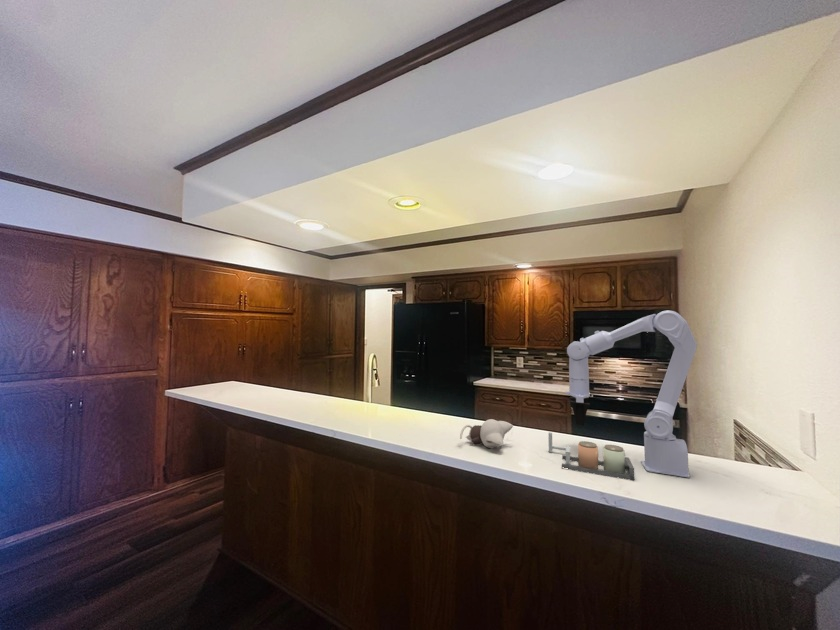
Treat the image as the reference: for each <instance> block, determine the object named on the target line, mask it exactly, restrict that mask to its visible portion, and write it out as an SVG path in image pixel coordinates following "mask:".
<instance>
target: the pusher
mask: <svg viewBox="0 0 840 630" xmlns="http://www.w3.org/2000/svg"><path fill="white" fill-rule="evenodd" d="M553 450H559V451H565V455H566V460H565V464H569V465H571V461H570V456H571V447H570V446H569V445H565V447H564V446H555V445H553V432H552V431H548V453H553Z"/></svg>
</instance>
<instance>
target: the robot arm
mask: <svg viewBox="0 0 840 630" xmlns="http://www.w3.org/2000/svg"><path fill="white" fill-rule="evenodd" d="M656 330H657V331H658V332H660V333H661V334H662V335H665V336H666V337H667V338H668V340H669V342H670V343H671V344H672V346H673V347H674V349H673V351H672V355H671V358H670V361H669V363H668V367H667V369H666V373H665V375H664V378H663V382H662V383H661V387H660V390H659V392H658V396H657V398H656V401H655V404H654V407H653V409H652V410H651V411H649V412H648V413H647V415H646V418H645V420H644V422H643V425H644V429H645V431H644V432H643V444H644V445H643V446H644V459H642V460H641V459H640V463H641V465H643V468H644V470H645V471H646V472H651V473H657V474H664V475H668V476H677V477H682V478H688V479H689V478H690V475H689V474H690V473H689V471H690V470H689V469H690V468H689V452H688V451H689V450H688V446H687V442H686V441H685V440H684V439H682V438H681V439H680V438H677V437H676V434H675V435H674V434H673V431H674V419H673V417H674V414H675V410H676V407H677V405H678V401H679V399H680V396H681V393H682V391H683V387H684V385H685V381H686V379H687V376H688V373H689V370H690V368H691V365H692V362H693V360H694V357H695V353H696V351H697V348H698V347H697V346H698V344H697V340H695V337H694V335H693V333H692V330H691V328H690V326H689V324H688V321H687V320H686V319H685V318H684V317H683V316H681V314H680V313H678V312H677V311H675V310H663V311H660V312H659V313H657V314H656V313H653V314H650V315H646V316H643V317H641V318H637V319H636V320H634V321H632V322H630V323H627V324H626V325H624V326H621V327H619V328H617V329H615V330H612V331H605V330H601V331H600V330H596V331H594V334H592V335H589V336H587V337H585V338H584V337H581V338H580V339H579V341H578V340H577V341H575V340H574V341H572V342H571V343H570V344H569V345H568V346H567V347H566V353H567V355H568V359H569V360H568V361H569V362H568V374H569V375H568V376H569V377H568V379H569V381H568V382H569V383H568V384H569V385H568V386H569V389H568V390H569V391H565V395H569V396H570V397H569V399H570V400H569V404H570V406H571V408H572V410H573V415H574V421H575V424H576V426H577V425H578V426H584V425H585V422H586V417H587V412H588V410H589V408H590V406H591V403H590V402H588V401H589V400H590V399H589V397H591V394H590V375H589V374H590V372H589V371H590V370H589V357H590V356H594V355H597V354H600V353H602V352H605V351H607V350H609V349H612V348H613V347H614V344H615V343H616V342H617V341H620V340H623V339H626V338H629V337H631V336H634V335H636V334H639V333H642V332H646V333H647V332H649V333H655V332H656Z"/></svg>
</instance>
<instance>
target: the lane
mask: <svg viewBox="0 0 840 630" xmlns="http://www.w3.org/2000/svg"><path fill="white" fill-rule="evenodd" d="M561 457H562V460H563V459H566V454H565V455H564V454H562V456H561ZM570 460H572V461H571V462H575V461H577V462H576V463H578V456H572V455H570ZM600 465H601V466H602V467H604V460H603V461H602V460H599V459H598V466H600ZM562 467H564V468H568V469H567V470H569V469H572V470H571V471H575V470H578V471H577V472H581V471H583V472H582V473H587V472H589V473H588V474H593V473H595V474H594V475H599V474H601V475H600V476H605V477H606V476H607V477H611V478H612V477H613V478H617V477H619V478H618V479H623V478H624V479H623V480H628V479H630V480H629V481H634V480H635V477H636V476H635V467H634V465H633V463H632V461H631V459H630V458H629V457H626V456H625V469H626V470H625V474H624V473H618V472H612V471H606V470H604V469H600V468H598V469H594V468H588V467H581V466H578V465H575V464H570V465H569V464H566V463H563V462H562V463H561V468H562Z"/></svg>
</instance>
